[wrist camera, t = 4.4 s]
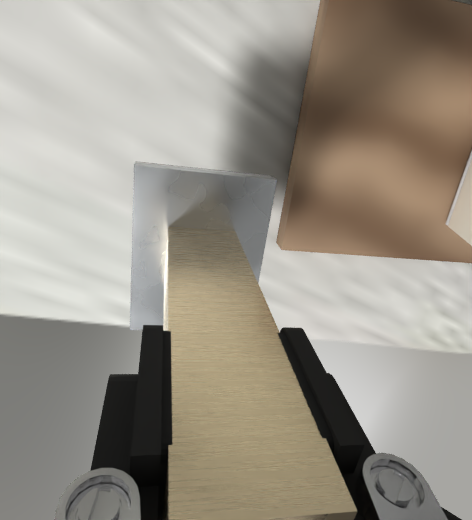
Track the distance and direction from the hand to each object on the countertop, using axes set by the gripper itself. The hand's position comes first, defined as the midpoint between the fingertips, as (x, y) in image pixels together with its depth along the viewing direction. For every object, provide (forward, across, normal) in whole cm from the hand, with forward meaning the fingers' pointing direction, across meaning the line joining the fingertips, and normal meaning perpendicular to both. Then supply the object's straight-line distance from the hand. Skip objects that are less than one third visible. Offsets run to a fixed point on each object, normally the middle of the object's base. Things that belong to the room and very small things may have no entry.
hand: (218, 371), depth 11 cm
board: (+17, -19, -6) cm, 26 cm away
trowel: (+8, 0, 0) cm, 8 cm away
